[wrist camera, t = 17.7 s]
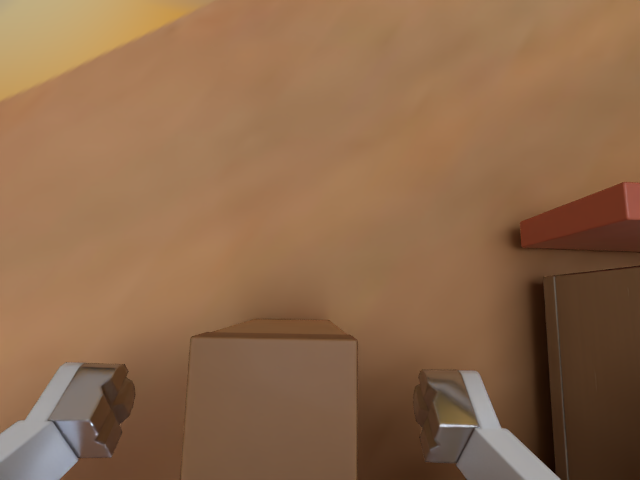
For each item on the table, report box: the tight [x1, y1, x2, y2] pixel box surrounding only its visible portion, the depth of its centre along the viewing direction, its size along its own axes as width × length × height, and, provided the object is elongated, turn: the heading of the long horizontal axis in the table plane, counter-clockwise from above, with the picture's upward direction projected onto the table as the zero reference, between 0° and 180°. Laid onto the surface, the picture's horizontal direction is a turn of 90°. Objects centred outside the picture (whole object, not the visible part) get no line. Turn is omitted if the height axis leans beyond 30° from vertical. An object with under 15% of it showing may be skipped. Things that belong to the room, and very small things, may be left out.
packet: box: [180, 319, 358, 480], centre depth 12 cm, size 4×3×10 cm
